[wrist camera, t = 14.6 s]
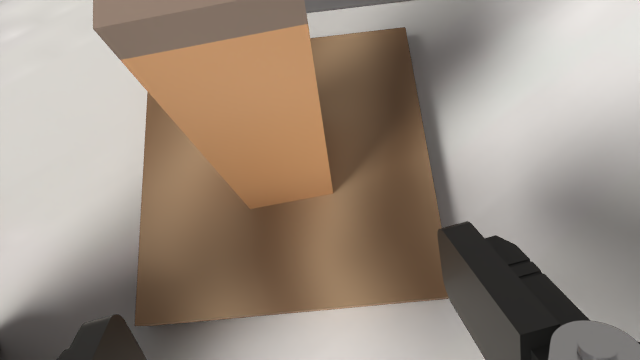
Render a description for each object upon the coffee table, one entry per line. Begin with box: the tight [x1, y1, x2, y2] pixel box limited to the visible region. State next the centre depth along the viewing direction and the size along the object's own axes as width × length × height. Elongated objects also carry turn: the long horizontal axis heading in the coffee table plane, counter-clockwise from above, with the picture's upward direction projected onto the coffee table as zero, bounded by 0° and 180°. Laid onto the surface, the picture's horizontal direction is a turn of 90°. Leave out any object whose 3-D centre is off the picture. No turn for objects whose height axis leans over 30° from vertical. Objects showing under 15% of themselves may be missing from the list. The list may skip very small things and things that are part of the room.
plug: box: [93, 0, 333, 209], centre depth 15 cm, size 4×4×13 cm
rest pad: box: [135, 27, 449, 326], centre depth 22 cm, size 14×14×2 cm
